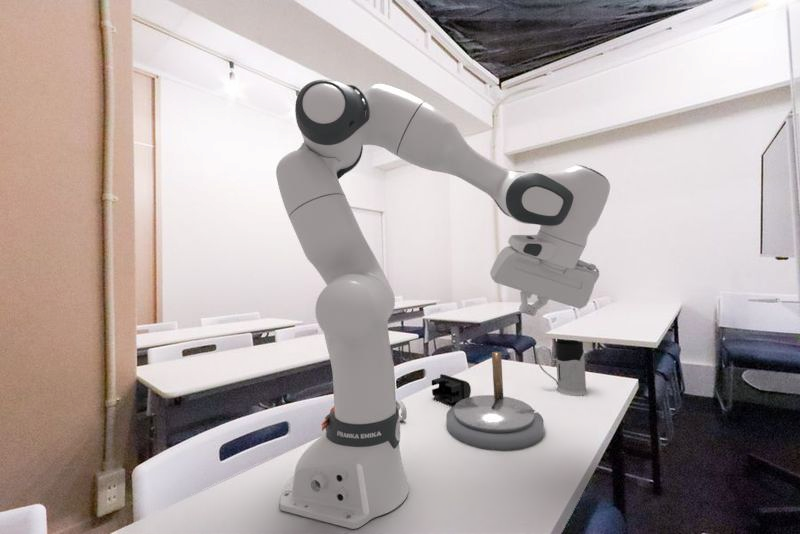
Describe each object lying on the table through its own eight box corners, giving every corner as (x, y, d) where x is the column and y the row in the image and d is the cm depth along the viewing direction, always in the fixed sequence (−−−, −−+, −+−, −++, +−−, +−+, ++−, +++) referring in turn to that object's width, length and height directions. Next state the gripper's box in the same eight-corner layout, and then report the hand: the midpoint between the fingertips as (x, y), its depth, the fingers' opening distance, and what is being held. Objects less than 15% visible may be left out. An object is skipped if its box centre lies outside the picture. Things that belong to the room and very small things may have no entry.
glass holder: (591, 396, 101) (588, 345, 101) (539, 394, 105) (537, 345, 105) (583, 386, 110) (581, 339, 110) (536, 385, 113) (533, 339, 114)
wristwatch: (400, 415, 94) (399, 397, 94) (409, 422, 90) (408, 402, 90) (390, 418, 93) (389, 399, 93) (399, 425, 88) (398, 405, 88)
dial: (530, 438, 72) (526, 374, 72) (443, 425, 81) (441, 367, 81) (537, 405, 89) (534, 353, 89) (465, 397, 98) (463, 349, 98)
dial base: (444, 447, 76) (443, 435, 76) (448, 407, 98) (448, 397, 98) (555, 452, 71) (554, 439, 71) (533, 409, 94) (532, 399, 94)
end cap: (471, 402, 102) (470, 379, 102) (454, 408, 97) (453, 384, 98) (448, 393, 110) (447, 372, 110) (431, 399, 105) (430, 377, 106)
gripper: (594, 262, 71) (565, 320, 75) (503, 233, 70) (478, 293, 74) (612, 272, 65) (579, 334, 69) (512, 240, 64) (484, 305, 68)
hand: (526, 313), depth 71 cm, fingers closed
